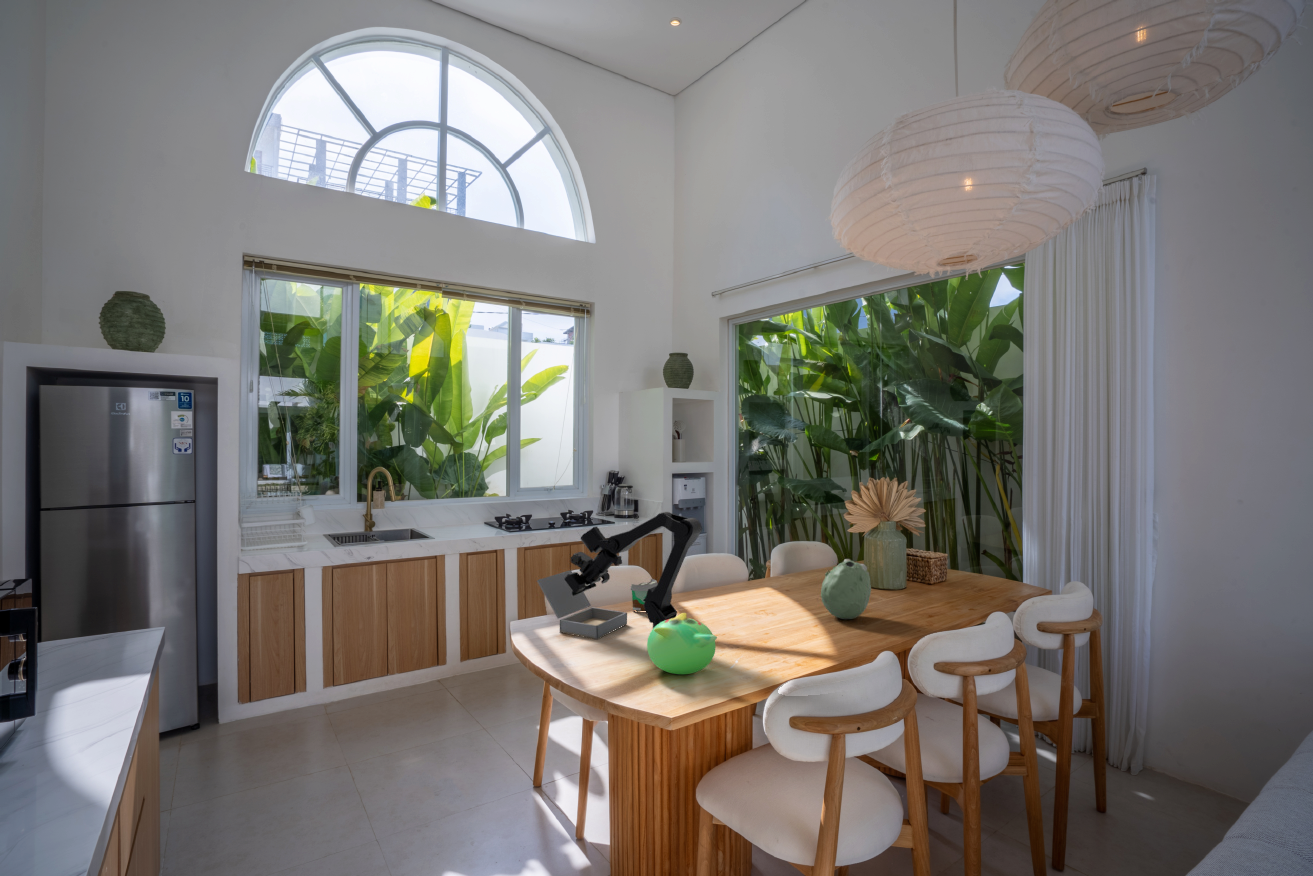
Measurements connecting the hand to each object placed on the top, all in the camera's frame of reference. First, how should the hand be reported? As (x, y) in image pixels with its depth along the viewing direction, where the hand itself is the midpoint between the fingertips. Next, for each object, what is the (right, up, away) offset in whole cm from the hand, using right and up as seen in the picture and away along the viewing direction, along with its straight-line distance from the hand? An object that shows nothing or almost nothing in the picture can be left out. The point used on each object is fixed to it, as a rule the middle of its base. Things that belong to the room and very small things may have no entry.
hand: (573, 594), depth 209 cm
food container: (+24, -11, +19) cm, 32 cm away
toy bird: (+34, -10, -42) cm, 55 cm away
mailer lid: (-3, 0, +2) cm, 3 cm away
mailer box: (+7, -10, -4) cm, 13 cm away
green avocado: (+93, -11, +11) cm, 94 cm away
